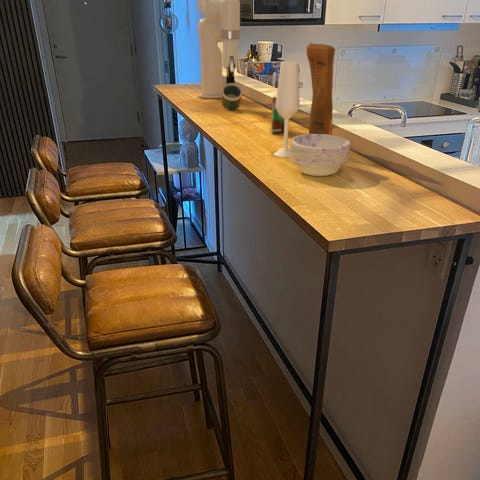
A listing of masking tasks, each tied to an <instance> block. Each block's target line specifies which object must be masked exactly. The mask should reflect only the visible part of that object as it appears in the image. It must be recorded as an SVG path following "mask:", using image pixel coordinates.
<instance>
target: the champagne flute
mask: <svg viewBox="0 0 480 480" xmlns="http://www.w3.org/2000/svg"><path fill="white" fill-rule="evenodd" d="M275 97H276V105H275V107H276V110H277V111H278V113H279V114H280V115H281V116H282V117H283V118H284V119H285V124H284V133H283V147H282V148H280V149H278V150H276V151H275V152H273V155H274V156H275V157H280V158H290V147H288V143H289V141H288V140H289V124H290V119H292V118H293V117H294V116H295V115H296V114H297V113H298V111H299V109H300V106H301V105H300V62H299V61H293V60H292V61H291V60H284V61H281V62H280V67H279V75H278V83H277V90H276V96H275Z"/></svg>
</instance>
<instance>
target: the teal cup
mask: <svg viewBox="0 0 480 480" xmlns="http://www.w3.org/2000/svg"><path fill="white" fill-rule="evenodd" d="M242 99H243V89H242V87H241V86H240V85H239V84H237V83H236V82H235V83H228V84H226V83H225V84H224V85H223V88H222V95H221V98H220V103H221V106H222V107H223V108H224V109H226V110H229V111H235V110H237V109H239V108H240V106H241V104H242Z"/></svg>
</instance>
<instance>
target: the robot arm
mask: <svg viewBox="0 0 480 480" xmlns="http://www.w3.org/2000/svg"><path fill="white" fill-rule="evenodd" d="M197 6H198V10H199V12H200V14H201V15H203V18H201V19H200V20H199V21H198V23H197V34H198V40H199V47H200V68H201V71H200V72H201V92H200V93H198V97H199V98H202V99H221V95H222V88H223V87H224V85H223V69H225V71H226V77H225V82H226V83H225V85H226V84H228V83H235V84H236V82H235V81H236V79H235V77H236V76H235V70H236V69H237V68H238V41H240V40H241V2H240V0H197ZM217 43H222V50H221V48H220V47H219V46H218V44H217Z"/></svg>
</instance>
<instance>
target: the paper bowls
mask: <svg viewBox="0 0 480 480" xmlns="http://www.w3.org/2000/svg"><path fill="white" fill-rule="evenodd" d="M289 144H290V145H289V146H290V147H289V149H290V157H289V161H290V162H291V163H294V164H295V165H296V167H297V170H298V171H299V172H300V173H302V174H305V175H307V176H312V177H313V176H314V177H328V176H333V175H334V174H337V172H338V171H339V170H340V168H341V166H344V165H346V164H348V162H349V159H350V158H349V157H350V152H351V141H350V140H349V139H347V138H345V137H342V136H339V135H334V134H332V135H327V134H309V133H307V134H300V135H296V136H294V137H292V138H291V140H290V143H289Z"/></svg>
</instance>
